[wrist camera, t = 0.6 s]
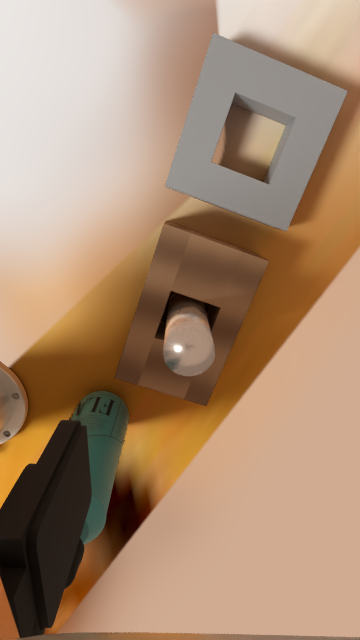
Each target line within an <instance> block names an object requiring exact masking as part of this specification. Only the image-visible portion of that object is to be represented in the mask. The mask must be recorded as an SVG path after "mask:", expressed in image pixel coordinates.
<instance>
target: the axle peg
mask: <svg viewBox="0 0 360 640" xmlns="http://www.w3.org/2000/svg"><path fill="white" fill-rule="evenodd" d="M163 357H164V360H165V363H166V364H167V366H168V367H169V368H170V369H171V370H172V371H173V372H175V373H177V374H179V375H182V376H196V375H199V374H201V373H203V372H205V371H206V370H207V369H208V368H209V367H210V366H211V365H212V363H213V361H214V358H215V347H214V343H213V338H212V334H211V330H210V326H209V322H208V318H207V314H206V310H205V306H204V302H203V301H200V300H197V299H194V298H191V297H188V296H185V295H182V294H179V293H176V294H174V295H173V296H172V297H171V299H170V301H169V304H168V311H167V320H166V330H165V339H164V348H163Z"/></svg>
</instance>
